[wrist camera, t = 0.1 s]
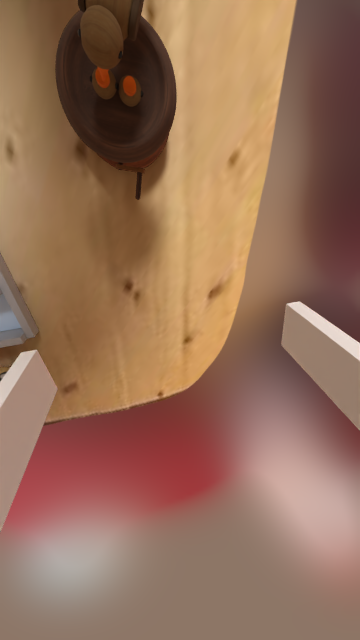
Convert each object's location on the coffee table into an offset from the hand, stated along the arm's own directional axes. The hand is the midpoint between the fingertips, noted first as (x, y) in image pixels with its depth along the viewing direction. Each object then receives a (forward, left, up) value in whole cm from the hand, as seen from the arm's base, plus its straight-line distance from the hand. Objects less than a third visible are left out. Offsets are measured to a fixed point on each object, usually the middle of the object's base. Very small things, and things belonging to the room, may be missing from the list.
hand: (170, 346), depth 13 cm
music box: (-14, 0, -28) cm, 32 cm away
